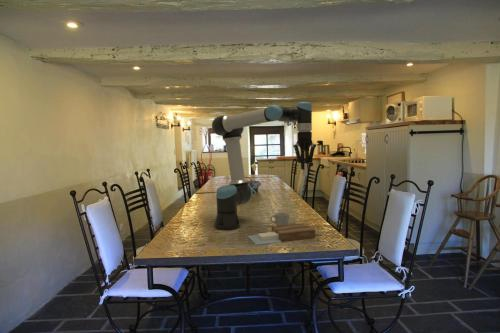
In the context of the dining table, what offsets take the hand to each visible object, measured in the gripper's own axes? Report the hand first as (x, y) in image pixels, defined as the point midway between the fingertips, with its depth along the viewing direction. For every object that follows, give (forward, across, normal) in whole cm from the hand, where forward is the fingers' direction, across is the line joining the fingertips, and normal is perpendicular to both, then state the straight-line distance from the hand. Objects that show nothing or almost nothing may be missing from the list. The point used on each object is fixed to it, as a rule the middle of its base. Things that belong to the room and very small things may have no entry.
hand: (304, 175), depth 175 cm
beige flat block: (+30, -24, -6) cm, 39 cm away
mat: (+30, -26, -6) cm, 40 cm away
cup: (+31, -10, +12) cm, 34 cm away
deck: (+30, -10, -6) cm, 33 cm away
